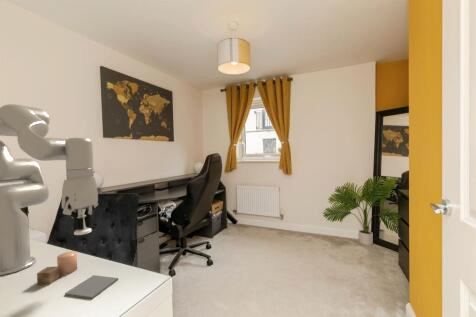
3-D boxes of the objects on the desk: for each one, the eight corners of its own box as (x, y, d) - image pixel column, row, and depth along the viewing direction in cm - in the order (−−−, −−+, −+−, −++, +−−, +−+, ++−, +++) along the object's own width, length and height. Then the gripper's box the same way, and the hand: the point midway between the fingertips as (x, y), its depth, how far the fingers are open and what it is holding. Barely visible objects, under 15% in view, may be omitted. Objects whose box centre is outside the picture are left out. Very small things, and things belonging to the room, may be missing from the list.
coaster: (64, 295, 66) (64, 293, 66) (93, 276, 76) (93, 275, 76) (92, 299, 64) (92, 297, 64) (118, 279, 74) (118, 278, 74)
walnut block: (37, 285, 72) (36, 273, 72) (47, 278, 76) (47, 267, 76) (50, 284, 72) (49, 272, 72) (59, 277, 76) (59, 266, 76)
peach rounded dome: (53, 274, 78) (53, 257, 78) (69, 266, 84) (68, 250, 84) (65, 276, 77) (65, 259, 77) (80, 268, 82) (80, 252, 82)
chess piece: (82, 235, 72) (81, 204, 72) (70, 234, 73) (69, 204, 73) (95, 230, 77) (94, 201, 77) (83, 229, 78) (82, 201, 78)
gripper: (91, 172, 84) (93, 220, 84) (46, 177, 68) (49, 236, 68) (108, 172, 82) (110, 221, 82) (66, 176, 66) (69, 237, 67)
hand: (82, 227), depth 75 cm, fingers closed on chess piece
